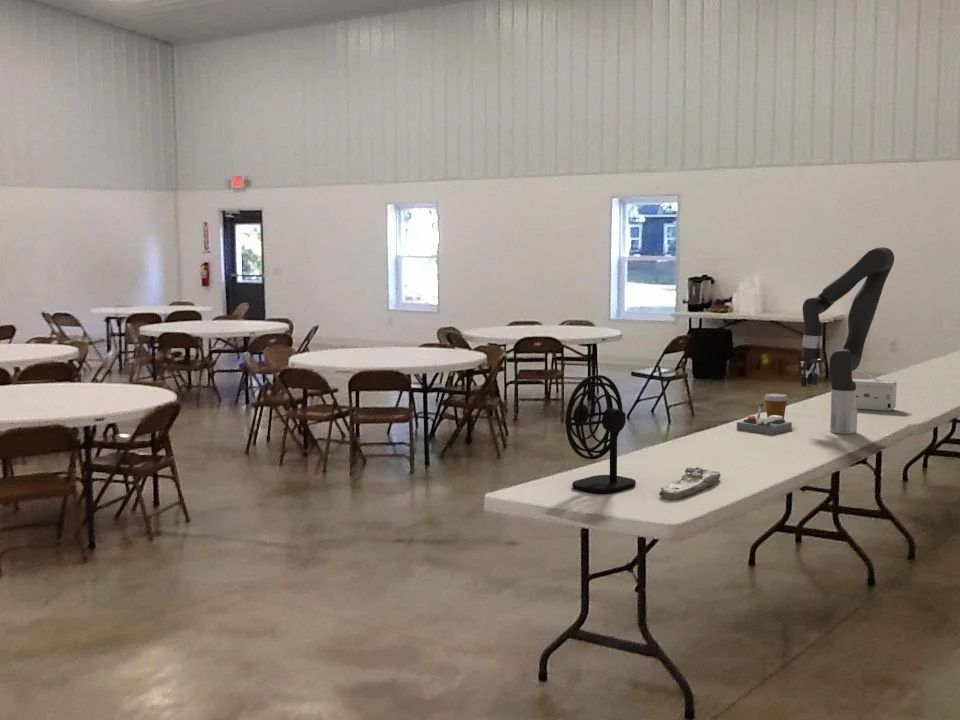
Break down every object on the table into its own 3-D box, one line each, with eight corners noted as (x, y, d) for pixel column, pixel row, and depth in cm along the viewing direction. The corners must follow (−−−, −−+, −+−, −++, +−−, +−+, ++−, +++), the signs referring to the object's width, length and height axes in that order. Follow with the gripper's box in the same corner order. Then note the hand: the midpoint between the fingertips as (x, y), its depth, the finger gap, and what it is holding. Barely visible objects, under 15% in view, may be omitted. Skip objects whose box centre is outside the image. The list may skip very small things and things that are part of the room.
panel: (791, 429, 414) (791, 419, 414) (771, 434, 404) (771, 423, 404) (756, 424, 426) (757, 414, 426) (736, 429, 416) (736, 418, 415)
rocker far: (774, 420, 409) (773, 416, 409) (769, 421, 406) (769, 418, 406) (761, 422, 413) (761, 418, 413) (756, 423, 411) (756, 419, 411)
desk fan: (607, 474, 337) (607, 369, 333) (650, 483, 324) (651, 374, 320) (552, 488, 318) (552, 377, 314) (596, 498, 306) (596, 382, 302)
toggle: (760, 419, 423) (764, 403, 423) (758, 418, 422) (762, 402, 422) (757, 418, 424) (760, 403, 425) (755, 418, 423) (758, 402, 424)
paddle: (782, 419, 415) (782, 416, 415) (777, 420, 412) (777, 417, 412) (773, 417, 418) (773, 414, 418) (768, 419, 415) (768, 416, 415)
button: (756, 418, 416) (756, 416, 415) (752, 419, 413) (752, 416, 413) (750, 418, 418) (750, 415, 418) (746, 419, 416) (746, 416, 416)
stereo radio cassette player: (896, 409, 462) (897, 365, 460) (892, 412, 455) (894, 367, 453) (848, 406, 473) (849, 363, 471) (844, 408, 466) (845, 365, 464)
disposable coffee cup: (789, 424, 426) (790, 396, 424) (767, 425, 426) (767, 396, 424) (783, 421, 435) (784, 393, 434) (761, 421, 435) (761, 393, 434)
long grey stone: (650, 502, 306) (681, 509, 301) (651, 486, 306) (681, 492, 300) (698, 474, 334) (727, 480, 329) (699, 459, 333) (728, 464, 328)
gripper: (811, 348, 406) (808, 388, 408) (829, 345, 416) (826, 385, 418) (794, 346, 411) (791, 386, 414) (812, 343, 421) (809, 382, 423)
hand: (809, 385), depth 416 cm, fingers open, 8 cm apart
